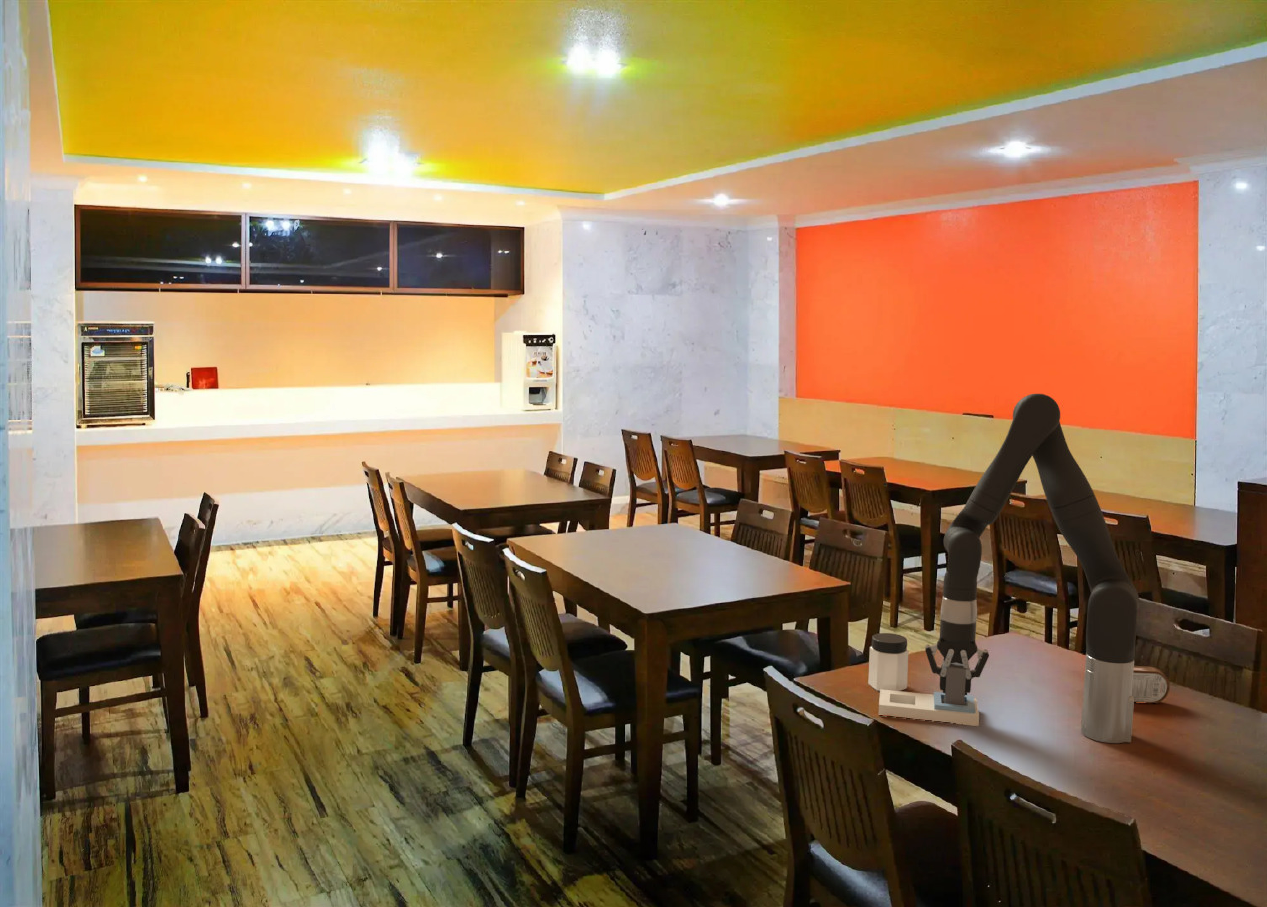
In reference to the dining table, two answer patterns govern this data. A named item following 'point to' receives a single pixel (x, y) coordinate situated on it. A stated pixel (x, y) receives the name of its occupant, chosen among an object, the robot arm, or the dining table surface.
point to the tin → (1149, 685)
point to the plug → (955, 684)
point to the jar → (888, 662)
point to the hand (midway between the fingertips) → (954, 692)
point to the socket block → (928, 707)
